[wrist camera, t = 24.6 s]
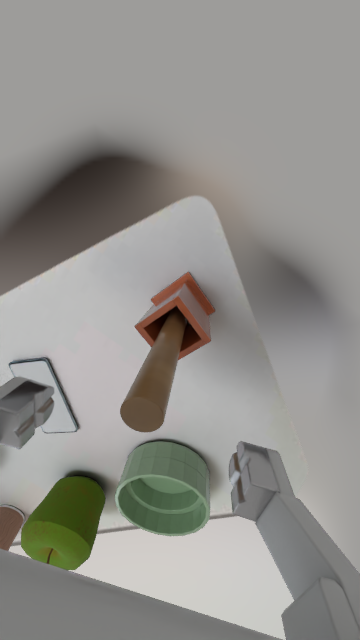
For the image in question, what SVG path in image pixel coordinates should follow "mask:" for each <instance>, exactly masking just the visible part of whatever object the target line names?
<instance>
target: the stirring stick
mask: <svg viewBox="0 0 360 640" xmlns="http://www.w3.org/2000/svg"><path fill="white" fill-rule="evenodd" d="M186 323H187V319H186V317H185V316H184V315H183V313H182V312H181V311H180V309H179V308H178V307H177V305H176V306H175V307H174V308H172V309H171V311H170V313H169V315H168V317H167V319H166V321H165V323H164V325H163V327H162V329H161V331H160V333H159V334H158V336H157V338H156V340H155V342H154V344H153V346H152V348H151V350H150V352H149V354H148V356H147V358H146V359H145V361H144V363H143V365H142V367H141V369H140V371H139V373H138V375H137V377H136V379H135V381H134V383H133V384H132V386H131V388H130V390H129V392H128V394H127V396H126V398H125V400H124V402H123V404H122V406H121V409H120V414H121V417H122V420H123V421H124V422H125V424H126V425H127V426H129V427H130V428H132V429H134V430H136V431H139V432H152V431H155V430H157V429H158V428H160V427H161V425H162V424H163V422H164V418H165V414H166V409H167V405H168V401H169V396H170V392H171V388H172V383H173V379H174V375H175V370H176V366H177V362H178V357H179V353H180V349H181V344H182V340H183V336H184V331H185V327H186Z"/></svg>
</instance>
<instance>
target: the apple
mask: <svg viewBox="0 0 360 640" xmlns="http://www.w3.org/2000/svg"><path fill="white" fill-rule="evenodd" d="M104 504H105V495H104V492H103V490H102V488H101V487H100V485H99V484H98V483H97V482H96V481H94V480H92V479H90V478H88V477H84V476H74V477H66V478H63V479H60V480H59V481H58V482H57V483H56V484H55V485H54V486H53V488H52V489H51V491H50V492H49V493H48V495H47V496H46V497H45V499H44V500H43V501H42V502H41V503H40V505H39V506H38V507H37V508H36V509H35V510H34V512H33V513H32V514H31V515H30V516H29V518H28V520H27V521H26V523H25V524H24V526H23V528H22V532H21V547H22V548H23V550H24V551H25V552H26V554H27V555H29V556H30V557H31V558H32V559H34V560H37V561H40V562H43V563H46V564H49V565H53V566H56V567H59V568H62V569H65V570H75V569H77V568H78V567H79V566H80V565H81V564H83V563H84V562H85V561H86V560H87V559H88V558H89V557H90V554H91V550H92V547H93V544H94V541H95V538H96V534H97V529H98V525H99V520H100V516H101V513H102V510H103V507H104Z"/></svg>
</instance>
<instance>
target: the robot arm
mask: <svg viewBox="0 0 360 640" xmlns="http://www.w3.org/2000/svg"><path fill="white" fill-rule="evenodd" d="M53 394H54V387H52V386H49V385H46V384H43V383H40V382H37V381H34V380H31V379H27V378H24V377H21V376H18V377H14V378H13V379H11V380H10V381H8V382H7V383H5V384H4V385H2V386H1V387H0V444H2V445H6V446H9V447H13V448H17V449H21V448H22V447H23V446H24V445H25V444H26V442H27V441H28V440H29V439H30V438H31V437H32V436H33V435H34V433H35V428H37V427H39V426H41V425H43V424H44V423H45V422H46V421H47V420H48V418H49V417H50V415H51V413H52V412H53V408H54V400H53V399H52V397H51V396H52V395H53ZM229 480H230V482H231V484H232V485H233V487H234V488H233V490H232V492H231V500H232V510H233V514H234V515H237V516H240V517H243V518H246V519H249V520H253V521H255V522H256V525H257V527H258V529H259V531H260V533H261V535H262V537H263V539H264V541H265V543H266V545H267V547H268V549H269V551H270V553H271V555H272V557H273V559H274V561H275V563H276V565H277V567H278V569H279V571H280V573H281V575H282V577H283V579H284V581H285V583H286V585H287V587H288V589H289V591H290V593H291V594H292V597H293V599H294V602H293V603H292V604H291V605H290V606H289V607H288V608H286V609H285V610H284V612H283V614H282V621H283V626H284V631H285V637H286V640H360V574H359V572H358V571H357V570H356V569H355V567H354V566H353V565H352V564H351V563H350V561H349V560H348V559H347V558H346V556H345V555H344V554H343V553H342V551H341V550H340V549H339V548H338V546H337V545H336V544H335V543H334V541H333V540H332V539H331V538H330V537H329V535H328V534H327V533H326V532H325V530H324V529H323V528H322V527H321V525H320V524H319V523H318V522H317V520H316V519H315V518H314V517H313V515H312V514H311V513H310V512H309V510H308V509H307V508H306V507H305V506H304V504H303V503H302V502H301V500H300V499H298V498H295V496H294V493H293V490H292V487H291V485H290V482H289V479H288V476H287V473H286V471H285V468H284V465H283V462H282V460H281V457H280V454H279V453H278V452H277V451H274V450H271V449H267V448H264V447H261V446H257V445H254V444H250V443H246V442H243V441H240V442H239V443H238V445H237V452H236V453H234V454H233V455H232V457H231V459H230V464H229ZM0 640H282V639H279V638H276V637H273V636H269V635H267V634H263V633H260V632H257V631H254V630H251V629H248V628H245V627H242V626H238V625H236V624H232V623H229V622H226V621H223V620H220V619H217V618H214V617H211V616H208V615H205V614H201V613H198V612H195V611H192V610H189V609H186V608H182V607H179V606H177V605H174V604H170V603H167V602H164V601H161V600H158V599H155V598H152V597H149V596H146V595H142V594H139V593H136V592H133V591H130V590H127V589H124V588H121V587H117V586H115V585H111V584H108V583H105V582H102V581H99V580H96V579H92V578H90V577H87V576H84V575H80V574H77V573H74V572H71V571H68V570H65V569H62V568H59V567H56V566H53V565H49V564H46V563H43V562H40V561H37V560H34V559H31V558H28V557H25V556H21V555H18V554H15V553H12V552H9V551H6V550H3V549H0Z"/></svg>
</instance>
